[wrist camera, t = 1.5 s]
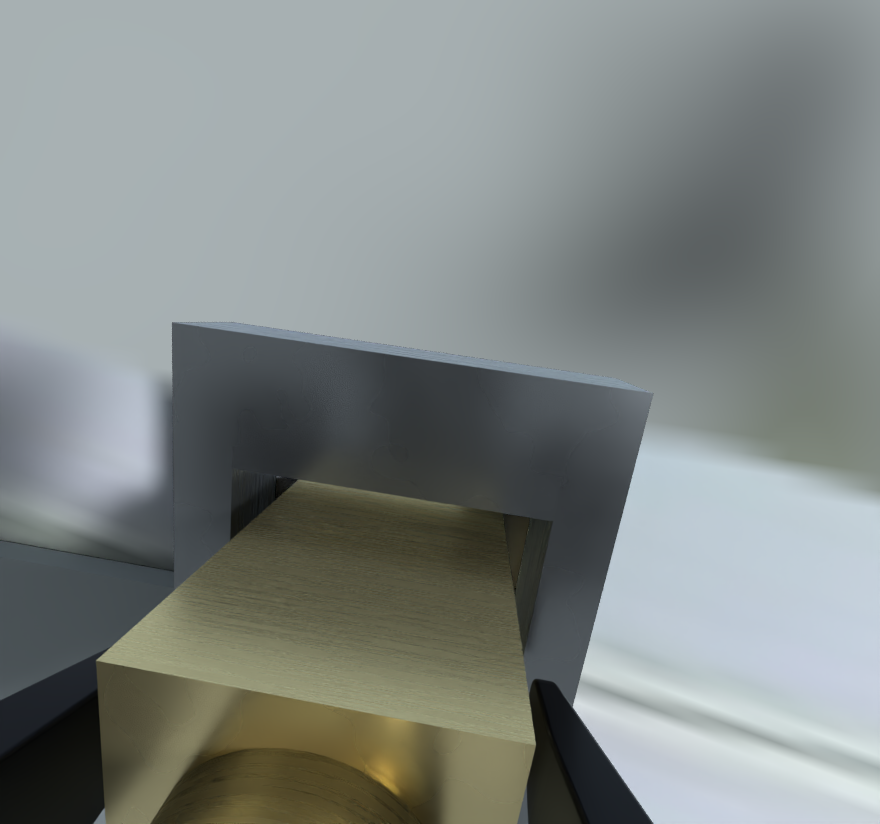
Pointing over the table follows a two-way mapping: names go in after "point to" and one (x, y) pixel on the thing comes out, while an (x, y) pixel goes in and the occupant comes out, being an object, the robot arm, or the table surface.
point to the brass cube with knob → (327, 674)
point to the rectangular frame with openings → (411, 455)
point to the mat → (67, 610)
